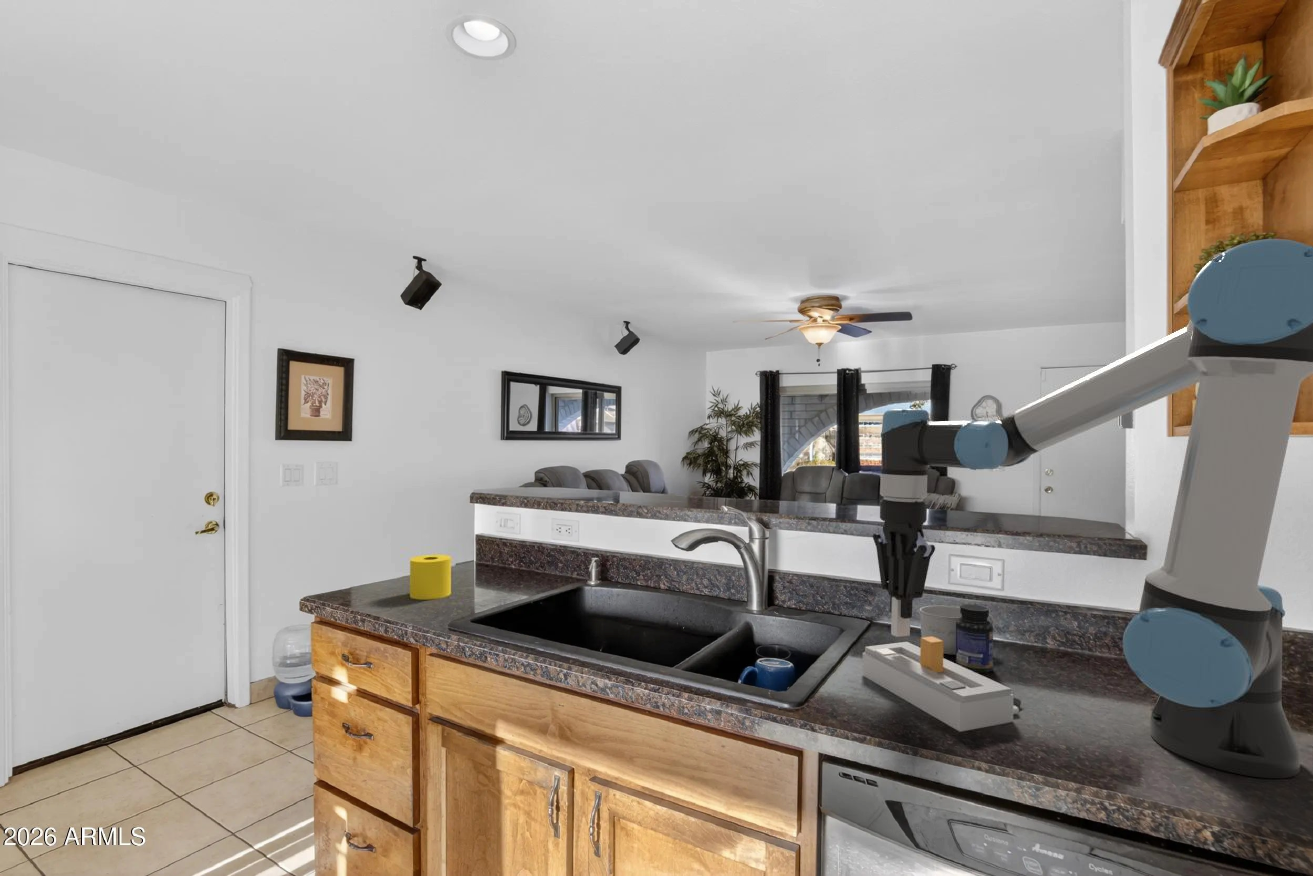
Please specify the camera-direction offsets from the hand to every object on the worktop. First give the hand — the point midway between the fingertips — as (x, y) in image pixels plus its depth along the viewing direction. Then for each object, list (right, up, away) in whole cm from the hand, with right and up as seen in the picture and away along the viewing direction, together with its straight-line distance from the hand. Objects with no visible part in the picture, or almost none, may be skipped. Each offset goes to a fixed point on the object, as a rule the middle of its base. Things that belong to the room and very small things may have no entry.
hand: (900, 634), depth 109 cm
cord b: (+11, -8, -3) cm, 14 cm away
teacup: (+17, -8, +15) cm, 24 cm away
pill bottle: (+16, -8, +6) cm, 19 cm away
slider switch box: (+2, -8, -7) cm, 11 cm away
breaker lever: (+2, -4, -7) cm, 8 cm away
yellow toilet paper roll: (-101, -7, +55) cm, 115 cm away
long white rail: (+8, -8, -5) cm, 12 cm away
